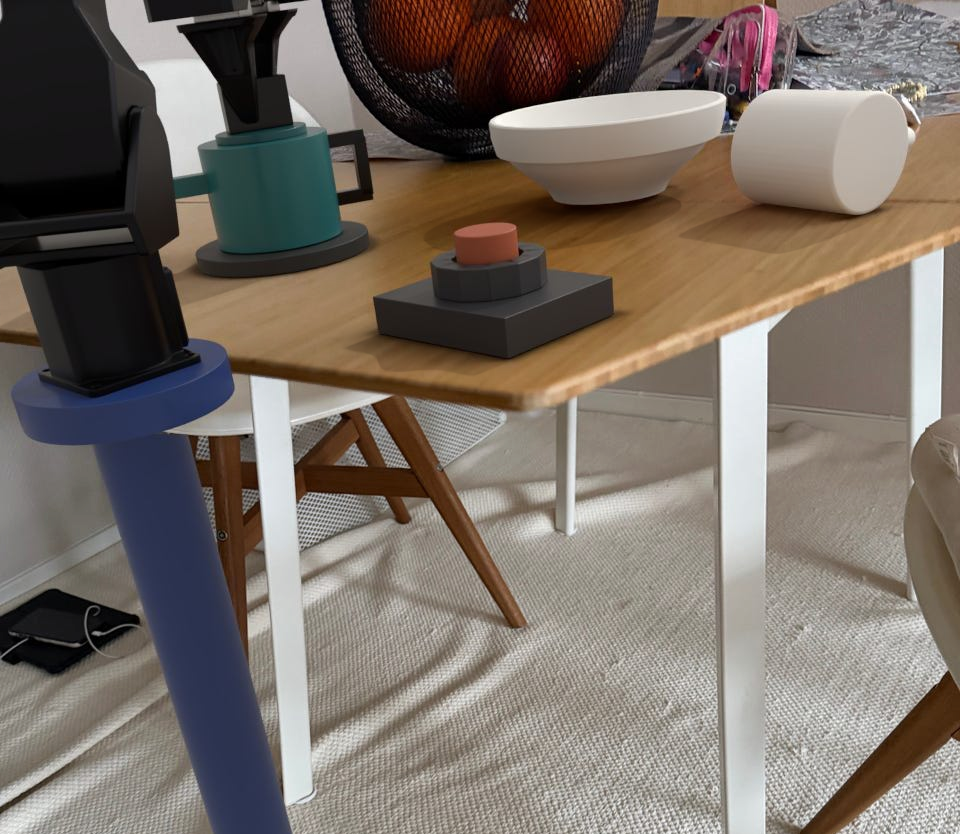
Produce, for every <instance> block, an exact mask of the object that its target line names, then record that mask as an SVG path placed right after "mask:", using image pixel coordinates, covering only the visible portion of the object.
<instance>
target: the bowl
mask: <svg viewBox="0 0 960 834" xmlns="http://www.w3.org/2000/svg"><path fill="white" fill-rule="evenodd" d="M726 106H727V96H726V95H724V93H722V92H718V91H712V90H700V89H699V90H698V89H697V90H696V89H676V90H675V89H673V90H672V89H671V90H669V89H668V90H652V91H651V90H648V91H636V92H625V93H613V94H605V95H604V94H603V95H597V96H595V95H594V96H587V97H580V98H572V99H566V100H560V101H553V102H548V103H542V104H537V105H532V106H528V107H523V108H518V109H514V110H512V111H511V110H510V111H507V112H504V113H501V114H499V115H496V116H494V117H493V118H491V119H490V120H489V122H488V129H489V134H490V135H489V136H490V141H491V143H492V144H491V145H492V146H493V149H494V152H495V155H496V157H497V158H499V159H500V160H502V161H506V162H509V163H510V164H511V166H513V167H514V168H515V169H517V170H518V171H519V172H521V174H523V175H524V176H526V178H528V179H530V180H531V181H533V182H534V183H536V184H537V185H539V186H541V187H542V188H543V189H545V191H547V193H548V194H549V195H550V196H551V198H552V200H554V201H555V202H557V203H560V204H566V205H577V206H579V205H581V206H584V205H585V206H587V205H605V204H615V203H623V202H630V201H636V200H641V199H645V198H649V197H653V196H656V195H658V194H661V193H663V192H664V191H665V190H666V189H667V188H668V185H669V183H670V182H671V181H672V179H673V178H674V177H675V176H676V174H678V173H679V172H680V171H681V170H682V169H683V168H684V167H686V166H687V164H689V163H690V162H691V161H692V160H693V159H694V158H695V157H696V156H697V155H698V154H699V153H700V152H701V151H702V150H703V149H704V148H705V146H706V144H707V143H708V142H709V141H711V140H713V139H715V138H717V137H718V136H720V134H721V132H722V128H723V124H724V120H725V116H726V109H727V108H726Z"/></svg>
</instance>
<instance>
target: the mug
mask: <svg viewBox="0 0 960 834" xmlns="http://www.w3.org/2000/svg"><path fill="white" fill-rule="evenodd" d="M915 142H916V133H915V131H914V129H913V128H911V127H910V126H908V120H907V116H906V113H905V111H904V109H903V107H902V105H901V103H900V102H899V101H898V99H897V98H896V97H895V96H893V95H892V94H890V93H888V92H885V91H881V90H839V89H836V90H834V89H833V90H832V89H788V88H787V89H786V88H782V89H781V88H774V89H769V90H766V91H764V92H762V93H760V94H759V95H757V96H756V97H754V99H753V100H751V101H750V103H749V104H748V105H747V106H746V108H745V109H744V111H743V112H742V114H741V115H740V118H739V119H738V121H737V123H736V127H735V129H734V132H733V136H732V140H731V147H730V168H731V173H732V177H733V180H734V182H735V184H736V186H737V189H738V190H739V191H740V193H741V194H742V195H743V196H744V197H745V198H746V199H748V200H750V201H752V202H754V203H759V204H766V205H774V206H781V207H789V208H798V209H805V210H813V211H820V212H829V213H835V214H836V213H837V214H844V215H845V214H846V215H852V216H861V215H866V214H868V213H870V212H872V211H874V210H876V209H877V208H878V207H880V206H881V205H882V204H883V203H884V202H885V201H886V200H887V199H888V198H889V196H890V195H891V194H892V192H893V191H894V190H895V188H896V185H897V184H898V182H899V180H900V177H901V175H902V173H903V169H904V167H905V163H906V159H907V154H908V150H909V148H911V147H912V146H913V145H914V143H915Z"/></svg>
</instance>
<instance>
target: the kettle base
mask: <svg viewBox="0 0 960 834" xmlns="http://www.w3.org/2000/svg"><path fill="white" fill-rule="evenodd" d="M341 221H342V227H343V231H342V232H341V233H340V234H339V235H337V236H335V237H333V238H331V239H329V240H326V241H323V242H320V243H316V244H312V245H308V246H304V247H299V248H294V249H288V250H282V251H275V252H265V253H249V254H241V253H229V252H225V251H222V250H221V249H220V247H219V243H218V238H217V239H215V240H212V241H209V242H207V243H206V244H204V245H202V246H200V247H199V248H198V249H197V250H196V251H195V259H196V264H197V267H198V270H199V271H200V273H202V274H204V275H207V276H212V277H219V278H254V277H255V278H256V277H266V276H277V275H284V274H289V273H290V274H291V273H296V272H301V271H307V270H311V269H316V268H320V267H324V266H329V265H332V264H335V263H338V262H341V261H344V260H347V259H350V258H351V257H355V256H357V255H359V254H361V253H362V252H364V251H365V250H367V249H368V248H369V247H370V243H371V241H370V235H369V234H370V233H369V229H368V226H367V225H365V224H364V223H361V222H357V221H352V220H341Z"/></svg>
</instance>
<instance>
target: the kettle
mask: <svg viewBox="0 0 960 834" xmlns="http://www.w3.org/2000/svg"><path fill="white" fill-rule="evenodd" d="M215 85H216V89H217V95H218V99H219V103H220V108H221V113H222V119H223V122H224V127H225V131H222V132H219V133H216V134H215V136H214V138H215V139H211V140H209V141H205V142H203V143H200V144H199V145H197V147H196V149H197V152H198V157H199V161H200V167H201V169H202V170H201V171H202V172H198V173H197V172H196V173H191V174H185V175H178V176H173V182H174V191H175V199H176V200H181V199H186V198H193V197H196V196H197V197H198V196H203V195H207V197H208V202H209V206H210V211H211V215H212V220H213V224H214V230H215V234H216V237H217V239H218V243H219V247H220V249H221V250H222V251H225V252H229V253H241V254H249V253H265V252H275V251H282V250H288V249H294V248H299V247H304V246H308V245H312V244H316V243H320V242H323V241H326V240H329V239H331V238H333V237H335V236H337V235H339V234H340V233H341V232H342V231H343V227H342V221H343V220H342V215H341V210H340V207H341V206H346V205H347V206H348V205H352V204H358V203H363V202H369V201H373V200H374V185H373V177H372V172H371V171H372V170H371V166H370V159H369V152H368V145H367V139H366V135H365V132H364V129H363V128H359V127H357V128H352V129H345V130H340V131H334V132H327V128H325V127H322V126H307V124H306V122H304V121H294V118H293V112H292V105H291V101H290V100H291V99H290V95H289V90H288V84H287V79H286V74H284V73H277V74H273V75H267V76H260V77H257V89H258V102H259V121H258V122H257V123H253V124H245V123H244V122H243V120H242V119H241V117H240V116H239V114H238V113H237V111H236V110H235V108H234V107H233V105H232V104H231V102H230V101H229V99H228V98H227V96H226V95H225V93H224V92H223V90H222V89H221V87H220V85H219V84H218V82H216V84H215ZM345 146H346V147H348V146H351V151H352V155H353V157H352V158H353V163H354V169H355V175H356V183H357V187H353V188H347V189H340V190H337V185H336V178H335V173H334V168H333V163H332V162H333V161H332V156H331V149H335V148H341V147H345Z"/></svg>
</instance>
